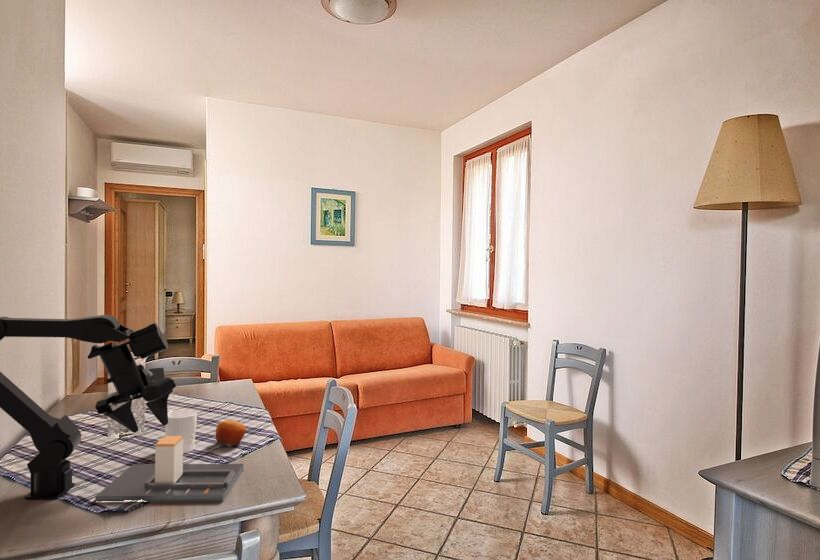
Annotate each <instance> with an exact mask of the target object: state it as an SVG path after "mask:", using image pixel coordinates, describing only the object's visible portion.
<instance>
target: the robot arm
mask: <svg viewBox="0 0 820 560" xmlns="http://www.w3.org/2000/svg"><path fill="white" fill-rule="evenodd" d="M15 337H16V338H66V339H67V338H68V339H73V340H77V341H81V342H86V343H93V344H94V345H92V346H91V349H90V351H89V353H88V355H87V358H88V359H89V360H90V359H94V358H96V357H98V356H99V358H100V360H101V362H102V364H103V366H104V369H105V370H106V372H107V375H108V376H109V377H107V378H106V379H105V381H106V383H107V384H112V385H113V386H114V389H115V391H114V392H111V393H109V394H108V395H106V396H105V397H103V398H101V399H98V401H96V402H95V407H94V408H95V410H96V412H97V414H98V415H101V414H103V416H104V417H108V418H110V419H112V420H113V421H115V422H117V423H118V424H120V425H121V426H123V427H124V428H126V429H127V430H129V431H130V432H132V433H134V434H135V433H137V432H139V427H138V423H137V422H136V419H135V416H134V414H133V411H132V403H133V401H134V400H137V399H141V398H142V399H143V400H144V401H146V402H145V406H146V407H147V409H149V411H150V412H151V413H152V414H153V415H154V417H155V418H156V419H157V421H158V422H160V424H161V425H162V426H164V427H165V425H167V424H168V412H169V411H168V400H169V397H170V395H171V393H173V391H174V388H177V385H176V383H175V381H174V378H171V377H170V376H169V377H167V376H165V369H164V368H165V367H154V368H147V369H146V368H145V366H144V365H143V364H142V363H139V364H138V363H136V362H137V361H136V360H135V358H141V359H142V360H144V359H147V358H149V357H152V356H155V355H157V354H159V353H161V352H164V351H166V350H169V344H168V340H167V338H166V336H165V333H163V331H162V330H161V329H160V327H159V326H158V324H157V322H152V323H150V324H149V325H147V326H144V327H142V328H139V329H137V330H135V331H134V330H133V329H130V328H129V327H126V326H125V325H122V324H121V323H120V322H119V319H117V318H116V317H115V316H114V315H111V314H99V315H92V316H85V317H79V318H67V319H66V318H34V317H32V318H31V317H28V318H27V317H8V316H0V342H1V341H2V340H3V339H4V338H15ZM125 340H126V341H125ZM107 342H108V343H107ZM120 342H121V343H120ZM104 343H106V344H104ZM97 344H100V345H97ZM101 344H102V345H101ZM103 344H104V345H103ZM134 357H135V358H134ZM0 409H1V410H2V411H3V412H5V414H7V415H8V416H9V417H10V418H12V419H13V420H14V421H15V422H16V423H17V424H18V425H20V426H21V427H22V428H23V429H24V430H25V431H27V432H28V434H29V436H30V438H31V441H32V444H33V445H34V447H35V449H36V450H37V451H38V453H36V455H35V456H34V457H33V458H32V459H30V461H29V462H28V463H27V464H26V467H27V468H28V471H29V474H30V482H29V483H30V485H29V486H30V491H29V492H30V493H28V494H26V495H25V496H24V499H25V500H50V499H51V500H53V499H54V500H56V499H58V498H60V497H61V496H62V495H64V494H65V493H67V491H69V490H70V489H72V488H73V487H74V486H75V482H73V468H71V460H67V459H68V458H69V457H70V456H71V454H73V453H74V451H75V450H76V448H77V447H79V445H80V443H81V441H82V433H81V431H80V430H79V428H80V425H78V424H77V423H74V422H73V421H72V420H71V418H70V416H68V415H67V414H64V415H63V416H62V417H61V418H58V417H55V416H52V415H50V414H48V413H47V412H46V411H45V410H44V409H43V408H42V407H41V406H40V405H39V404H37V402H35V401H34V400H33V399H32V398H31V397H29V396H28V394H26V393H25V392H24V391H23V390H22V389H21V388H20V387H18V385H16V384H15V383H14V382H13V381H12V380H10V379H9V378H8V377H7V376H6V375H4V373H3V372H1V371H0Z"/></svg>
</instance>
